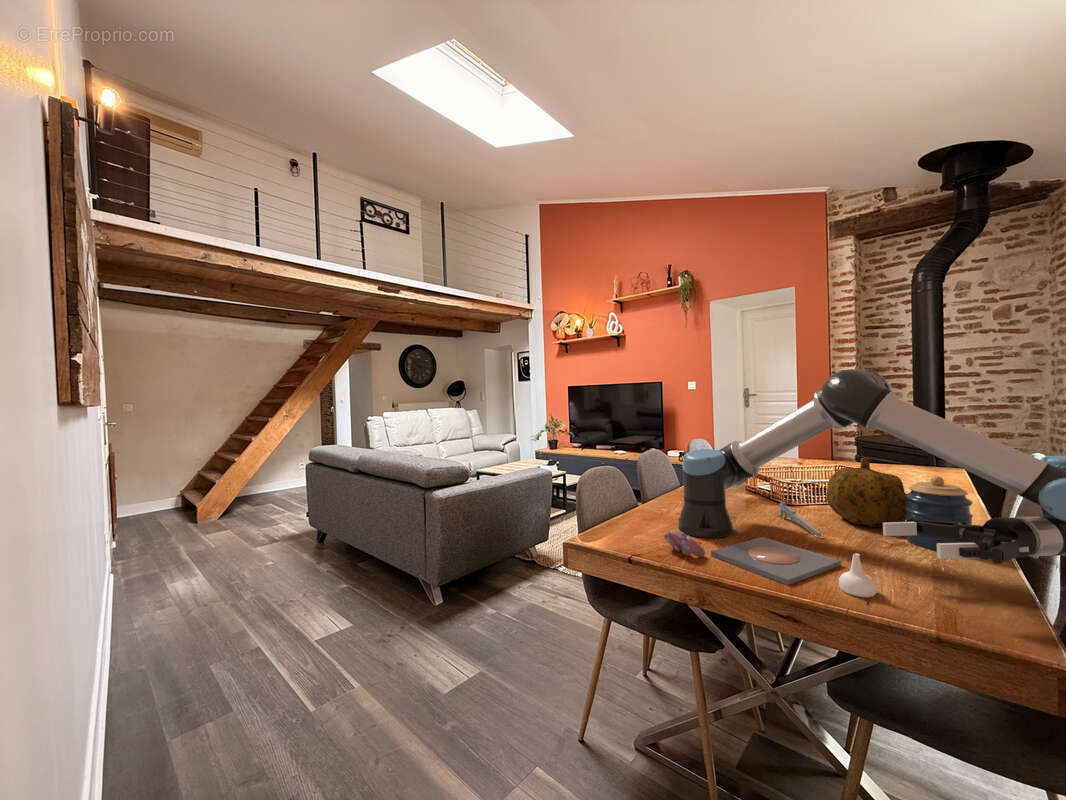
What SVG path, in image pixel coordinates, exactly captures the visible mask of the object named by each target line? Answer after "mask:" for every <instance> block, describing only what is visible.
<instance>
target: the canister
mask: <svg viewBox="0 0 1066 800" xmlns="http://www.w3.org/2000/svg"><path fill="white" fill-rule="evenodd" d="M908 489H909V490H910V492H907V493H906V495H905V497H906V499H907V500H908V504H907V506H906V507H905V510H906V520H905V522H908V519H909V518H912V519H923V520H936V521H949V522H961V521H962V522H966V525H973V518H974V515H973V514H972V513H971V510H970V509H971V508H970V507H971V506H972V505H973V504H974V503H973V500H971V499H969V498H967V495H968V494H969V492H968V491H967V490H964V489H963V488H961V487H960V486H959V485H955V484H951V483H945V480H944V478H943V477H942V476H939V475H936V476H932V477H931V478H930V481H919V482H916V483H915V484H913V485H909V487H908ZM960 538H963V535H960ZM906 540H907V541H908V542H909V541H910V542H909V543H911V544H913V545H916V546H919V547H922V548H927V549H931V550H935V551H937V543H965V542H958V541H956V540H955V539H953V538H946V537H938V536H931V535H924V534H917V535H915V537H914V536H912V535H908V536H906Z"/></svg>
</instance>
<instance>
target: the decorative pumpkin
mask: <svg viewBox="0 0 1066 800" xmlns="http://www.w3.org/2000/svg"><path fill="white" fill-rule="evenodd" d="M859 461H860V462H859V463H860V467H842V468H839V469H837V471H835V472H834V473H833V474H832V475H831V476H830V477H829V480H828V482H827V486H826V502H827V504H828V505H829V507H830V508H831V509H832V511H834V513H835V514H837V515H838V516H840V517H841V518H843V519H845V520H847V521H848V522H849V523H853V524H856V525H863V526H868V527H870V528H873V527H875V528H879V527H883V523H888V522H906V510H905V507H906V506H907V504H908V500H907V499H906V497H905V495H906V494H907V493H906V491H905V487H904V484H903V482H902V479H901V478H900V477H899V476H898V475H896V474H893V473H892V474H891V473H888V472H887V473H886V472H882V471H881V472H880V471H876V470H874V469H871V467H870V465H871V463H870V461H871V460H870V458H868V457H862V458H860V459H859Z"/></svg>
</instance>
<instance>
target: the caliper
mask: <svg viewBox="0 0 1066 800" xmlns="http://www.w3.org/2000/svg"><path fill="white" fill-rule="evenodd" d="M778 515H779V516H778V517H779V518H780V517H783V518H782V520H783V519H786V520H787V519H788V518H789V519H790V520H791V521H793V520H794V521H796V523H798V524H799V525H801V526H802V527H803V528H804V529H806V530H807V531H808V532H809V533H811V534H812V535H813V534H814V535H816V536H818V537H817V538H819V537H824V535H822V532H821V531H819V530H818V529H816V527H814V526H812V525H811V524H810V523H808V521H806V520H805V519H803V518H802V517H801V516H799V514H797V513H796V511H795V510H794V509H793V508H791V507H790V506H789V505H787V501H785V499H781V501H780V502H779V508H778ZM814 535H813V536H814ZM816 536H815V537H816Z"/></svg>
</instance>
